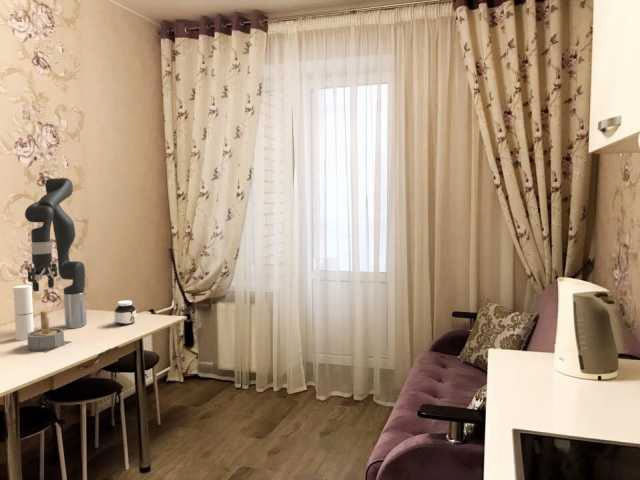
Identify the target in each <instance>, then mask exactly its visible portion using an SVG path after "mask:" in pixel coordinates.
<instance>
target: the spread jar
mask: <svg viewBox="0 0 640 480" xmlns="http://www.w3.org/2000/svg"><path fill="white" fill-rule="evenodd" d="M136 319H137V309H136V307H135V306H134V305H133V301H132V300H120V301H118V302H117V306H116V307H115V309H114V321H115V323H116V324H117V325H119V326H120V327H121V326H123V327H124V326H125V325H126V326H131V325H133V324H134V323H135V322H136ZM126 326H125V327H126Z"/></svg>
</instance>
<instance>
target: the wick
mask: <svg viewBox="0 0 640 480" xmlns="http://www.w3.org/2000/svg"><path fill="white" fill-rule="evenodd" d="M49 319H50V317H49V311H44V310H43V311H41V312H40V326H41V331H42V334H48V333H49V328H50V320H49Z"/></svg>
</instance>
